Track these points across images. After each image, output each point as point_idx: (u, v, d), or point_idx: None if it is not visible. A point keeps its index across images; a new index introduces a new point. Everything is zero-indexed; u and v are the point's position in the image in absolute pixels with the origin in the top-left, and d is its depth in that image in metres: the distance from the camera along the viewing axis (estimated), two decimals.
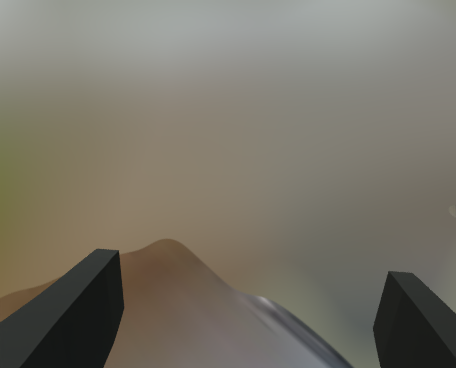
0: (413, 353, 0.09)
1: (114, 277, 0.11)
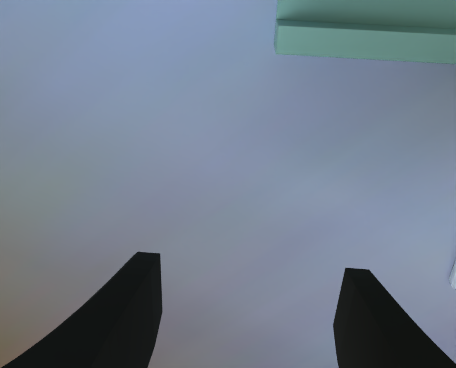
0: (362, 349, 0.09)
1: (156, 280, 0.11)
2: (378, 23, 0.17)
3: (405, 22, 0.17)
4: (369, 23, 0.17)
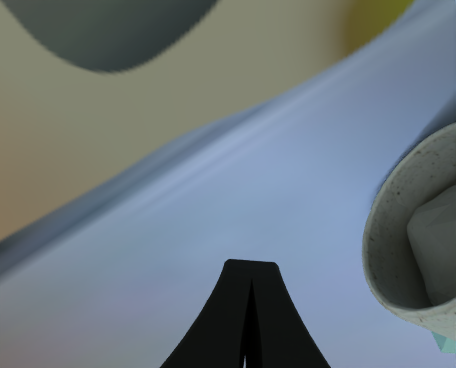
0: (253, 339, 0.09)
1: None
2: None
3: None
4: None
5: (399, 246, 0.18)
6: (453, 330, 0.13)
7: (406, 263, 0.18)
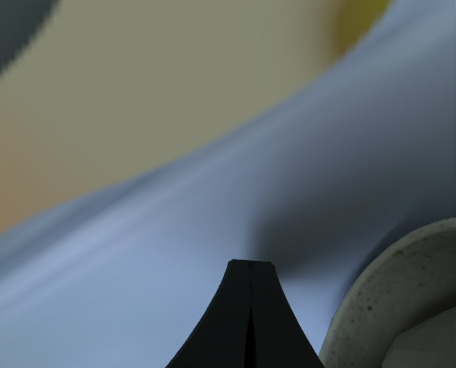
0: (248, 339, 0.09)
1: None
2: None
3: None
4: None
5: None
6: None
7: None
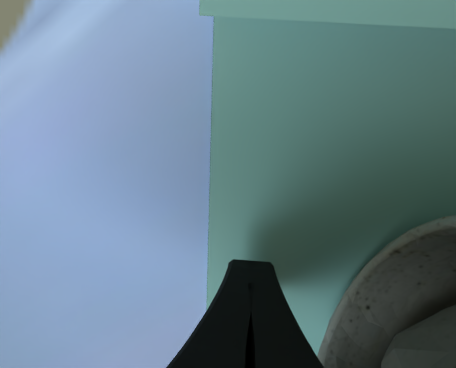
0: None
1: None
2: None
3: None
4: None
5: None
6: None
7: None
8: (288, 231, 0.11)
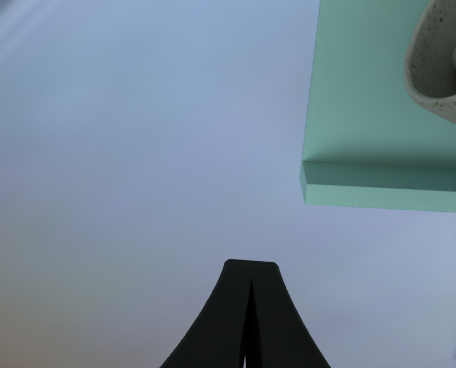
0: (252, 339, 0.09)
1: None
2: (390, 164, 0.20)
3: (414, 163, 0.20)
4: (383, 164, 0.20)
5: (443, 78, 0.16)
6: None
7: (453, 95, 0.16)
8: None
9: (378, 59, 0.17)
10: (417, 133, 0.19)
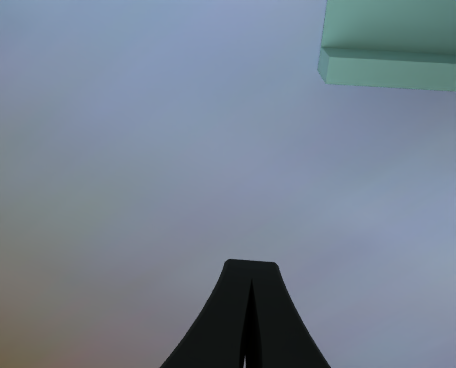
0: (252, 339, 0.09)
1: None
2: (421, 51, 0.17)
3: (448, 50, 0.17)
4: (412, 51, 0.17)
5: None
6: None
7: None
8: None
9: None
10: (453, 10, 0.17)
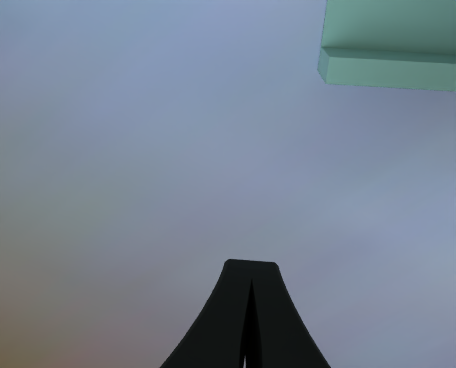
0: (252, 339, 0.09)
1: None
2: (421, 51, 0.17)
3: (448, 50, 0.17)
4: (412, 51, 0.17)
5: None
6: None
7: None
8: None
9: None
10: (453, 10, 0.17)
